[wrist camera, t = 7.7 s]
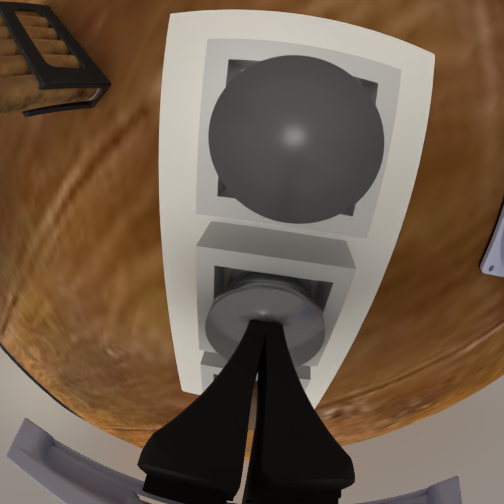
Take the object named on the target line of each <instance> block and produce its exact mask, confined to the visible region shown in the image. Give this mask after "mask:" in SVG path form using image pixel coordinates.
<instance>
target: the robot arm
mask: <svg viewBox="0 0 504 504" xmlns="http://www.w3.org/2000/svg"><path fill="white" fill-rule="evenodd" d="M480 270H481V271H482V272H483V273H485V274H490V275H495V276H501V277H504V206H503V209H502V212H501V215H500V218H499V221H498V223H497V226H496V229H495V231H494V234H493V237H492V239H491V242H490V244H489V246H488V249H487V251H486V253H485V256H484V258H483V260H482V262H481V265H480ZM257 373H258V380H257V407H256V422H255V429H254V436H253V442H252V449H251V455H250V461H249V467H248V473H247V479H246V484H245V489H244V495H243V500H242V504H338V498H340V497H341V490H342V489H344V488H346V487H349V486H351V485H352V484H353V483H354V482H355V474H354V468H353V463H352V460H351V458H350V456H349V455H348V454H347V453H346V452H345V451H344V450H343V449H342V447H341V446H340V445H339V444H338V443H337V441H336V440H335V439H334V438H333V436H332V435H331V434H330V432H329V431H328V430H327V428H326V427H325V425H324V424H323V422H322V420H321V419H320V417H319V416H318V414H317V413H316V411H315V409H314V408H313V406H312V404H311V402H310V401H309V399H308V397H307V395H306V393H305V391H304V389H303V387H302V384H301V382H300V380H299V377H298V375H297V373H296V370H295V367H294V365H293V362H292V359H291V356H290V353H289V350H288V346H287V342H286V338H285V334H284V328H283V325H282V324H281V323H275V322H267V321H260V320H253V319H252V320H250V321H249V323H248V326H247V329H246V331H245V333H244V335H243V337H242V339H241V341H240V343H239V345H238V346H237V348H236V350H235V352H234V353H233V355H232V356H231V358H230V359H229V361H228V362H227V364H226V365H225V366H224V368H223V369H222V371H221V372H220V373H219V374H218V376H217V377H216V378H215V379H214V381H213V382H212V383H211V384H210V385H209V386H208V387H207V389H206V390H205V391H204V392H203V393H202V394H201V395H200V396H199V397H198V398H197V399H196V400H195V401H194V402H193V403H192V404H191V405H190V406H188V407H187V408H186V409H185V410H184V411H183V412H181V413H180V414H179V415H178V416H177V417H176V418H174V419H173V420H172V421H170V422H169V423H168V424H166V425H165V426H163V427H162V428H161V429H159V430H158V431H156V432H155V433H154V434H153V435H152V436H151V437H150V439H149V440H148V442H147V443H146V445H145V446H144V448H143V450H142V452H141V455H140V458H139V461H138V464H137V465H138V466H139V468H140V469H141V470H142V471H144V472H145V473H146V474H147V476H146V479H145V482H144V481H141V480H138V479H135V478H133V477H130V476H127V475H125V474H122V473H120V472H117V471H115V470H113V469H111V468H108V467H106V466H104V465H102V464H100V463H97V462H95V461H93V460H91V459H89V458H87V457H85V456H83V455H81V454H80V453H78V452H76V451H74V450H72V449H70V448H69V447H67V446H65V445H63V444H62V443H60V442H58V441H56V440H55V439H54V438H53V437H52V436H50V434H48V433H47V432H46V431H44V430H43V429H42V428H40V427H38V426H37V425H36V424H34V423H33V422H31V421H30V420H29V419H27V418H25V419H24V421H23V423H22V425H21V427H20V429H19V431H18V433H17V435H16V437H15V439H14V441H13V443H12V445H11V447H10V449H9V451H8V453H7V458H8V459H9V460H10V461H12V462H13V463H14V464H15V465H16V466H17V467H18V468H20V469H21V470H22V471H23V472H25V473H26V474H27V475H28V476H29V477H31V478H32V479H33V480H34V481H36V482H37V483H38V484H39V485H41V486H42V487H43V488H44V489H46V490H47V491H49V492H50V493H51V494H52V495H54V496H55V497H57V498H58V499H59V500H61V501H62V502H64V503H65V504H151V503H148V502H145V501H142V500H140V498H139V496H138V495H137V494H139V495H142V496H145V497H148V498H151V499H154V500H157V501H160V502H163V503H167V504H235V503H228V502H227V500H228V501H233V498H234V496H235V495H236V494H237V492H238V490H239V488H240V483H241V477H242V471H243V463H244V455H245V447H246V440H247V432H248V424H249V416H250V409H251V401H252V394H253V389H254V385H255V381H256V377H257ZM358 504H462V501H461V491H460V484H459V478H458V476H455V477H453V478H450V479H447V480H445V481H442V482H439V483H436V484H434V485H432V486H430V487H428V488H426V489H423V490H419V491H416V492H412V493H409V494H405V495H401V496H397V497H392V498H387V499H383V500H377V501H371V502H365V503H358Z"/></svg>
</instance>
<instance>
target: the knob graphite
mask: <svg viewBox="0 0 504 504" xmlns="http://www.w3.org/2000/svg"><path fill="white" fill-rule="evenodd" d="M208 143H209V150H210V155H211V159H212V163H213V165H214V168H215V170H216V173H217V175H218V176H219V178H220V180H221V182H222V183H223V185H224V186H225V187H226V189H227V190H228V191H229V192H230V193H231V194H232V196H233V197H234V198H235V199H236V200H238V201H239V202H240V203H241V204H243V205H244V206H245V207H246V208H248V209H250V210H251V211H253V212H254V213H257V214H259V215H261V216H263V217H265V218H268V219H271V220H274V221H279V222H283V223H292V224H308V223H315V222H320V221H323V220H327V219H330V218H332V217H335V216H337V215H339V214H341V213H343V212H345V211H346V210H348V209H349V208H351V207H352V206H353V205H355V204H356V203H357V202H358V201H359V200H360V199H361V198H362V197H363V196H364V195H365V194H366V192H367V191H368V190H369V189H370V187H371V186H372V184H373V182H374V181H375V179H376V177H377V174H378V172H379V170H380V167H381V163H382V160H383V154H384V131H383V125H382V121H381V117H380V114H379V112H378V109H377V107H376V105H375V103H374V101H373V100H372V98H371V96H370V95H369V93H368V92H367V91H366V89H365V88H364V87H363V86H362V85H361V84H360V83H359V82H358V81H357V80H356V79H355V78H354V77H353V76H352V75H350V74H349V73H348V72H346V71H345V70H343V69H342V68H340V67H338V66H336V65H334V64H332V63H330V62H327V61H325V60H322V59H319V58H314V57H310V56H302V55H284V56H278V57H273V58H269V59H266V60H263V61H260V62H258V63H256V64H254V65H252V66H250V67H248V68H247V69H245V70H244V71H242V72H241V73H239V74H238V75H237V76H236V77H235V78H234V79H233V80H232V81H231V82H230V83H229V84H228V85H227V86H226V88H225V89H224V90H223V92H222V93H221V95H220V96H219V98H218V100H217V102H216V104H215V106H214V109H213V112H212V115H211V119H210V124H209V131H208Z"/></svg>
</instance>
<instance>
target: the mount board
mask: <svg viewBox="0 0 504 504" xmlns="http://www.w3.org/2000/svg"><path fill="white" fill-rule="evenodd" d="M284 55H302V56H310V57H314V58H319V59H322V60H325V61H327V62H330V63H332V64H334V65H336V66H338V67H340V68H342V69H343V70H345V71H346V72H348V73H349V74H350V75H352V76H353V77H354V78H355V79H356V80H357V81H358V82H359V83H360V84H361V85H362V86H363V87H364V88H365V89H366V91H367V92H368V93H369V95H370V96H371V98H372V100H373V101H374V103H375V105H376V107H377V109H378V112H379V114H380V117H381V121H382V125H383V131H384V154H383V160H382V163H381V167H380V170H379V172H378V174H377V177H376V179H375V181H374V182H373V184H372V186H371V187H370V189H369V190H368V191H367V192H366V194H365V195H364V196H363V197H362V198H361V199H360V200H359V201H358V202H357V203H356V204H355V205H353V206H352V207H351V208H349V209H348V210H346V211H345V212H343V213H341V214H339V215H337V216H335V217H332V218H330V219H327V220H323V221H320V222H315V223H308V224H292V223H283V222H279V221H274V220H271V219H268V218H265V217H263V216H261V215H259V214H257V213H254V212H253V211H251V210H250V209H248V208H246V207H245V206H244V205H243V204H241V203H240V202H239V201H238V200H236V199H235V198H234V197H233V196H232V194H231V193H230V192H229V191H228V190H227V189H226V187H225V186H224V185H223V183H222V182H221V180H220V178H219V176H218V175H217V173H216V170H215V168H214V165H213V163H212V159H211V155H210V150H209V143H208V131H209V124H210V119H211V115H212V112H213V109H214V106H215V104H216V102H217V100H218V98H219V96H220V95H221V93H222V92H223V90H224V89H225V88H226V86H227V85H228V84H229V83H230V82H231V81H232V80H233V79H234V78H235V77H236V76H237V75H238V74H239V73H241V72H242V71H244V70H245V69H247V68H248V67H250V66H252V65H254V64H256V63H258V62H260V61H263V60H266V59H269V58H273V57H278V56H284ZM434 60H435V54H433V53H430V52H428V51H426V50H424V49H422V48H419V47H417V46H414V45H412V44H410V43H407V42H404V41H402V40H399V39H397V38H394V37H391V36H388V35H385V34H382V33H379V32H376V31H373V30H369V29H366V28H363V27H359V26H355V25H351V24H347V23H343V22H339V21H334V20H330V19H325V18H319V17H314V16H307V15H301V14H293V13H285V12H274V11H260V10H207V11H193V12H182V13H174V14H170V19H169V26H168V33H167V40H166V48H165V56H164V66H163V77H162V89H161V104H160V125H159V201H160V224H161V240H162V253H163V265H164V275H165V285H166V294H167V302H168V310H169V317H170V324H171V331H172V338H173V344H174V350H175V356H176V362H177V367H178V372H179V378H180V383H181V387H182V391H185V392H189V393H194V394H198V395H201V394H202V393H203V392H204V391H205V390H206V389H207V387H208V386H209V385H210V384H211V383H212V382H213V381H214V379H215V378H216V377H217V376H218V374H219V373H220V372H221V371H222V369H223V368H224V366H225V365H226V364H227V362H228V361H227V360H226V359H224V358H223V357H222V356H220V355H219V354H218V353H217V352H216V351H215V350H214V349H213V347H212V346H211V345H210V343H209V341H208V339H207V336H206V332H205V322H206V318H207V315H208V313H209V310H210V307H211V305H212V303H213V301H214V300H215V298H216V297H217V296H218V295H219V294H220V293H221V292H223V291H224V290H225V289H226V287H227V284H228V281H229V278H230V274H231V272H232V270H233V268H235V269H241V270H248V271H254V272H261V273H268V274H275V275H282V276H289V277H296V278H303V279H310V280H311V285H312V295H313V299H314V300H315V301H316V302H317V304H318V305H319V307H320V309H321V311H322V314H323V318H324V327H325V339H324V343H323V345H322V347H321V349H320V350H319V352H318V353H317V354H316V355H315V356H314V357H313V358H312V359H311V360H309V361H308V362H306V363H304V364H303V365H300V366H298V367H295V370H296V373H297V375H298V377H299V380H300V382H301V384H302V387H303V389H304V391H305V393H306V395H307V397H308V399H309V401H310V402H311V404H312V406H313V408H314V409H315V407H316V406H317V404H318V403H319V401H320V400H321V398H322V396H323V395H324V393H325V391H326V390H327V388H328V386H329V385H330V383H331V381H332V380H333V378H334V376H335V375H336V373H337V371H338V369H339V368H340V366H341V364H342V362H343V360H344V358H345V357H346V355H347V353H348V351H349V349H350V347H351V345H352V343H353V341H354V339H355V338H356V336H357V334H358V332H359V330H360V327H361V325H362V323H363V321H364V319H365V317H366V315H367V313H368V311H369V308H370V306H371V304H372V302H373V300H374V297H375V295H376V293H377V290H378V288H379V286H380V283H381V281H382V278H383V276H384V273H385V271H386V268H387V266H388V263H389V261H390V258H391V255H392V253H393V250H394V247H395V244H396V241H397V239H398V236H399V233H400V230H401V227H402V224H403V221H404V217H405V214H406V211H407V208H408V204H409V201H410V197H411V194H412V190H413V186H414V183H415V179H416V175H417V171H418V167H419V162H420V158H421V153H422V149H423V144H424V139H425V133H426V128H427V122H428V116H429V109H430V102H431V94H432V85H433V74H434ZM257 380H258V373H257V377H256V381H257Z"/></svg>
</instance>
